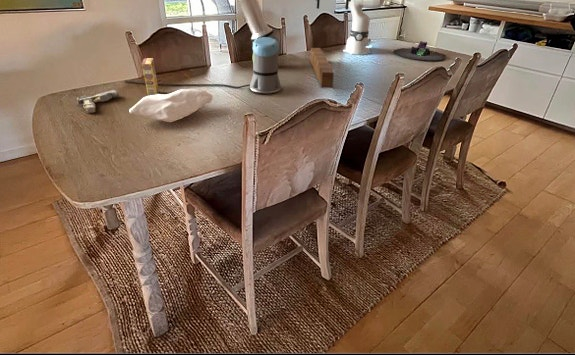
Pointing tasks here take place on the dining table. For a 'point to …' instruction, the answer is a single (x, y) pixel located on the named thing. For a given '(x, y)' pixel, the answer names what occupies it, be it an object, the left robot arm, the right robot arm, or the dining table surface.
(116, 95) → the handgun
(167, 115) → the crumpled cloth
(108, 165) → the dining table surface
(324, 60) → the bar
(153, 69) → the candy box
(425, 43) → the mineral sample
